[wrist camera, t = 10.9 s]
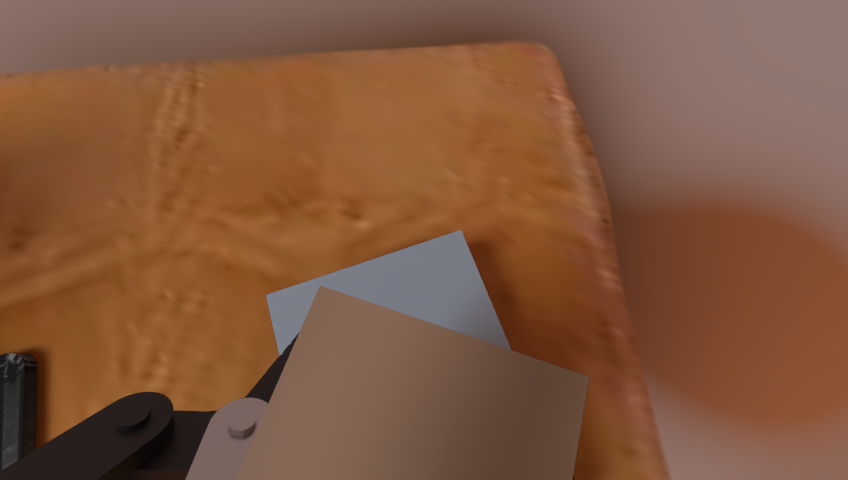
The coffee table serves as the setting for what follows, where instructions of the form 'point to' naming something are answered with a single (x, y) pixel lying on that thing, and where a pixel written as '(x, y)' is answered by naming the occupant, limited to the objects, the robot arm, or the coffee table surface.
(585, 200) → the coffee table surface
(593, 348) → the coffee table surface
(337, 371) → the walnut block
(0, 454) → the phone
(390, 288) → the base board
